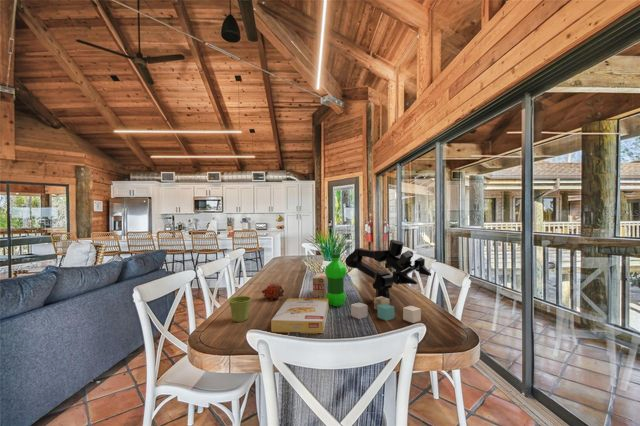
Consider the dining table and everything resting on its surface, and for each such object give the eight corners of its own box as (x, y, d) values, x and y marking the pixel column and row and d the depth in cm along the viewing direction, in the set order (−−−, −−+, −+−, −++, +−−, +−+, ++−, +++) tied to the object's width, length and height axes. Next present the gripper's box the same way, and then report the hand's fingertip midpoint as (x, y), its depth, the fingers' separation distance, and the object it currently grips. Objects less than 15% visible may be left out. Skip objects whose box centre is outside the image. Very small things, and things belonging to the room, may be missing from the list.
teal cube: (377, 317, 122) (377, 305, 122) (385, 315, 125) (385, 303, 125) (386, 321, 118) (386, 309, 118) (394, 318, 121) (394, 306, 121)
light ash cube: (374, 308, 134) (374, 298, 134) (381, 306, 137) (381, 296, 137) (382, 311, 130) (381, 300, 130) (389, 309, 132) (389, 298, 132)
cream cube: (403, 319, 120) (403, 307, 120) (410, 317, 123) (410, 305, 123) (413, 323, 116) (413, 311, 116) (420, 320, 118) (420, 308, 118)
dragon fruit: (285, 302, 148) (263, 305, 149) (286, 289, 155) (265, 292, 156) (281, 292, 144) (258, 295, 145) (282, 279, 151) (261, 282, 152)
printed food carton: (321, 290, 167) (320, 269, 167) (331, 290, 166) (331, 269, 166) (312, 301, 146) (312, 277, 146) (324, 302, 145) (324, 277, 145)
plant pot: (230, 325, 114) (230, 303, 114) (226, 318, 123) (226, 297, 123) (253, 321, 119) (253, 300, 119) (248, 314, 127) (248, 294, 127)
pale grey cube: (351, 315, 125) (351, 304, 125) (359, 313, 127) (359, 302, 127) (358, 319, 120) (358, 307, 120) (367, 316, 123) (367, 305, 123)
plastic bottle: (331, 300, 146) (331, 252, 146) (350, 303, 141) (349, 253, 141) (321, 306, 138) (321, 254, 138) (340, 309, 132) (340, 255, 132)
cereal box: (328, 297, 134) (323, 319, 106) (329, 309, 134) (324, 334, 106) (286, 297, 136) (270, 319, 108) (286, 309, 136) (270, 333, 108)
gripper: (382, 256, 130) (409, 272, 118) (411, 242, 139) (438, 255, 126) (383, 276, 135) (408, 293, 122) (410, 262, 143) (437, 276, 131)
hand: (423, 278), depth 125 cm, fingers open, 9 cm apart
